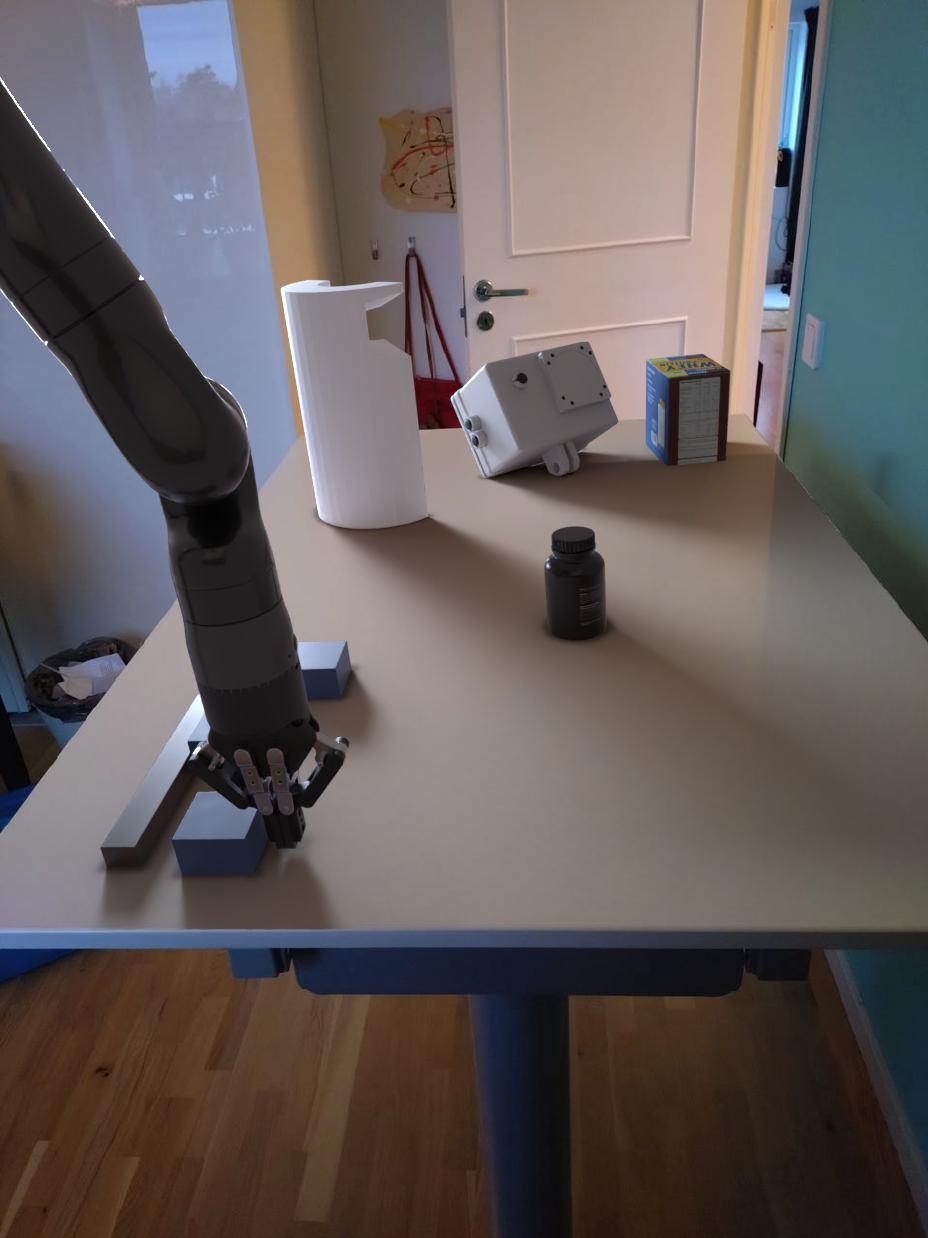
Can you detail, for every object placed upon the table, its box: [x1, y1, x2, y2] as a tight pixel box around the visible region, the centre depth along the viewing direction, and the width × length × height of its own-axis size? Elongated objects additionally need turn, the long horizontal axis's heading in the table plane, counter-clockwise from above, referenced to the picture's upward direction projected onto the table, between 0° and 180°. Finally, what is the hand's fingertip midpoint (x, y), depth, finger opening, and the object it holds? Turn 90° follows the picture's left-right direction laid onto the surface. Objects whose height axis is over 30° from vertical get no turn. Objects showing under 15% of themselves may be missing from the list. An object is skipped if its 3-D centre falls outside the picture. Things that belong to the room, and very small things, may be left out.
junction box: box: [450, 341, 619, 479], centre depth 153 cm, size 24×15×22 cm
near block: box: [171, 791, 269, 875], centre depth 73 cm, size 6×6×4 cm
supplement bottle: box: [543, 525, 608, 641], centre depth 101 cm, size 7×7×12 cm
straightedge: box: [99, 693, 205, 868], centre depth 86 cm, size 3×31×2 cm, turn 175°
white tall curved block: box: [280, 279, 429, 530], centre depth 136 cm, size 35×11×21 cm
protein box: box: [645, 353, 732, 467], centre depth 155 cm, size 10×15×16 cm
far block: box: [297, 640, 352, 700], centre depth 96 cm, size 6×6×4 cm
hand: (289, 841), depth 73 cm, fingers closed
